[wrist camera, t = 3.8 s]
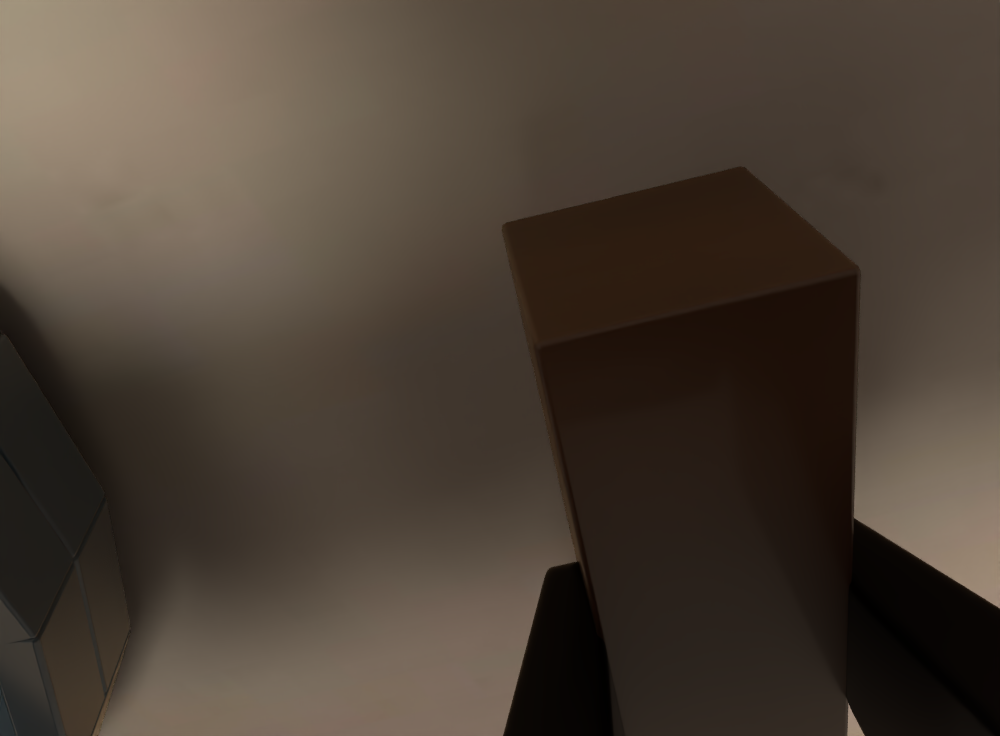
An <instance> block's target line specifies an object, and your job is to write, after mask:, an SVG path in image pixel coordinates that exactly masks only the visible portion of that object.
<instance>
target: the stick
mask: <svg viewBox="0 0 1000 736" xmlns="http://www.w3.org/2000/svg"><path fill="white" fill-rule="evenodd" d="M502 234H503V238H504V242H505V247H506V251H507V256H508V260H509V264H510V269H511V273H512V278H513V282H514V286H515V291H516V295H517V300H518V304H519V308H520V313H521V317H522V322H523V326H524V330H525V335H526V339H527V344H528V348H529V352H530V357H531V361H532V366H533V370H534V374H535V379H536V383H537V388H538V392H539V396H540V401H541V405H542V410H543V414H544V418H545V423H546V427H547V432H548V436H549V441H550V445H551V449H552V454H553V458H554V463H555V467H556V471H557V476H558V480H559V485H560V489H561V493H562V498H563V502H564V507H565V511H566V515H567V520H568V524H569V529H570V533H571V537H572V542H573V546H574V551H575V555H576V559H577V561H578V562H579V566H580V569H581V573H582V577H583V581H584V585H585V589H586V593H587V597H588V601H589V605H590V609H591V613H592V617H593V621H594V625H595V629H596V632H597V635H598V636H599V637H600V638H602V639H603V640H604V642H605V645H606V650H607V654H608V659H609V664H610V668H611V673H612V678H613V682H614V687H615V691H616V696H617V701H618V705H619V710H620V715H621V719H622V724H623V729H624V733H625V736H847V728H848V701H847V698H846V670H847V634H848V598H849V585H850V583H851V582H852V557H853V523H854V489H855V454H856V420H857V386H858V352H859V318H860V283H861V272H860V269H859V267H858V266H857V265H856V264H855V263H854V262H853V261H852V260H850V259H849V258H848V257H847V256H846V255H845V254H844V253H842V252H841V251H840V250H839V249H838V248H837V247H835V246H834V245H833V244H832V243H831V242H830V241H829V240H827V239H826V238H825V237H824V236H823V235H822V234H821V233H819V232H818V231H817V230H816V229H815V228H814V227H813V226H811V225H810V224H809V223H808V222H807V221H806V220H805V219H803V218H802V217H801V216H800V215H799V214H798V213H797V212H795V211H794V210H793V209H792V208H791V207H790V206H789V205H787V204H786V203H785V202H784V201H783V200H782V199H781V198H779V197H778V196H777V195H776V194H775V193H774V192H772V191H771V190H770V189H769V188H768V187H767V186H766V185H764V184H763V183H762V182H761V181H760V180H759V179H758V178H756V177H755V176H754V175H753V174H752V173H751V172H750V171H748V170H747V169H746V168H745V167H737V168H732V169H728V170H724V171H720V172H716V173H712V174H707V175H703V176H699V177H695V178H691V179H687V180H682V181H678V182H674V183H670V184H666V185H662V186H657V187H653V188H649V189H645V190H641V191H637V192H632V193H628V194H624V195H620V196H616V197H611V198H607V199H603V200H599V201H595V202H591V203H586V204H582V205H578V206H574V207H570V208H566V209H561V210H557V211H553V212H549V213H545V214H541V215H536V216H532V217H528V218H524V219H520V220H516V221H511V222H507V223H505V224H503V226H502Z"/></svg>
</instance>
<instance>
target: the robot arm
mask: <svg viewBox="0 0 1000 736" xmlns="http://www.w3.org/2000/svg"><path fill="white" fill-rule="evenodd" d="M846 698H847V701H848V703H849V705H850V708H851V710H852V712H853V714H854V716H855V718H856V720H857V722H858V724H859V726H860V727H861V729H862V731H863V733H864V735H865V736H1000V608H998V607H996V606H995V605H993V604H992V603H990V602H988V601H987V600H985V599H984V598H982V597H980V596H979V595H977V594H976V593H974V592H972V591H971V590H969V589H967V588H966V587H964V586H963V585H961V584H959V583H958V582H956V581H955V580H953V579H951V578H950V577H948V576H947V575H945V574H943V573H942V572H940V571H938V570H937V569H935V568H934V567H932V566H930V565H929V564H927V563H926V562H924V561H922V560H921V559H919V558H918V557H916V556H914V555H913V554H911V553H909V552H908V551H906V550H905V549H903V548H901V547H900V546H898V545H897V544H895V543H893V542H892V541H890V540H889V539H887V538H885V537H884V536H882V535H880V534H879V533H877V532H876V531H874V530H872V529H871V528H869V527H868V526H866V525H864V524H863V523H861V522H860V521H858V520H856V519H855V518H854V523H853V557H852V582H851V583H850V585H849V598H848V634H847V670H846ZM503 736H625V733H624V729H623V724H622V719H621V715H620V710H619V705H618V701H617V696H616V691H615V687H614V682H613V678H612V673H611V668H610V664H609V659H608V654H607V650H606V645H605V642H604V640H603V639H602V638H600V637H599V636H598V635H597V632H596V629H595V625H594V621H593V617H592V613H591V609H590V605H589V601H588V597H587V593H586V589H585V585H584V581H583V577H582V573H581V569H580V566H579V562H578V561H577V562H572V563H568V564H563V565H559V566H555V567H551V568H549V569H548V570H547V572H546V574H545V578H544V582H543V585H542V589H541V593H540V597H539V601H538V604H537V608H536V612H535V616H534V620H533V624H532V627H531V631H530V635H529V639H528V643H527V647H526V650H525V654H524V658H523V662H522V666H521V669H520V673H519V677H518V681H517V685H516V689H515V692H514V696H513V700H512V704H511V708H510V712H509V715H508V719H507V723H506V727H505V731H504V734H503Z"/></svg>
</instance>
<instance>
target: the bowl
mask: <svg viewBox="0 0 1000 736" xmlns="http://www.w3.org/2000/svg"><path fill="white" fill-rule="evenodd" d="M130 627H131V625H130V620H129V615H128V609H127V604H126V599H125V593H124V588H123V582H122V577H121V572H120V566H119V561H118V556H117V550H116V545H115V540H114V534H113V529H112V524H111V518H110V513H109V508H108V502H107V498H106V496H105V491H104V490H103V488H102V486H101V485H100V483H99V482H98V480H97V478H96V477H95V475H94V474H93V472H92V470H91V469H90V467H89V466H88V464H87V462H86V461H85V459H84V458H83V456H82V454H81V453H80V451H79V450H78V448H77V446H76V445H75V443H74V442H73V440H72V438H71V437H70V435H69V434H68V432H67V430H66V429H65V427H64V426H63V424H62V422H61V421H60V419H59V418H58V416H57V414H56V413H55V411H54V410H53V408H52V406H51V405H50V403H49V402H48V400H47V398H46V397H45V395H44V394H43V392H42V390H41V389H40V387H39V386H38V384H37V382H36V381H35V379H34V378H33V376H32V374H31V373H30V371H29V370H28V368H27V366H26V365H25V363H24V362H23V360H22V358H21V357H20V355H19V354H18V352H17V350H16V349H15V347H14V346H13V344H12V342H11V341H10V339H9V338H8V336H7V335H6V334H1V330H0V736H98V735H99V733H100V730H101V727H102V723H103V720H104V717H105V713H106V710H107V707H108V704H109V700H110V697H111V694H112V691H113V687H114V684H115V681H116V678H117V674H118V671H119V668H120V665H121V661H122V658H123V655H124V652H125V648H126V645H127V642H128V639H129V635H130V632H131V631H130Z"/></svg>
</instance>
